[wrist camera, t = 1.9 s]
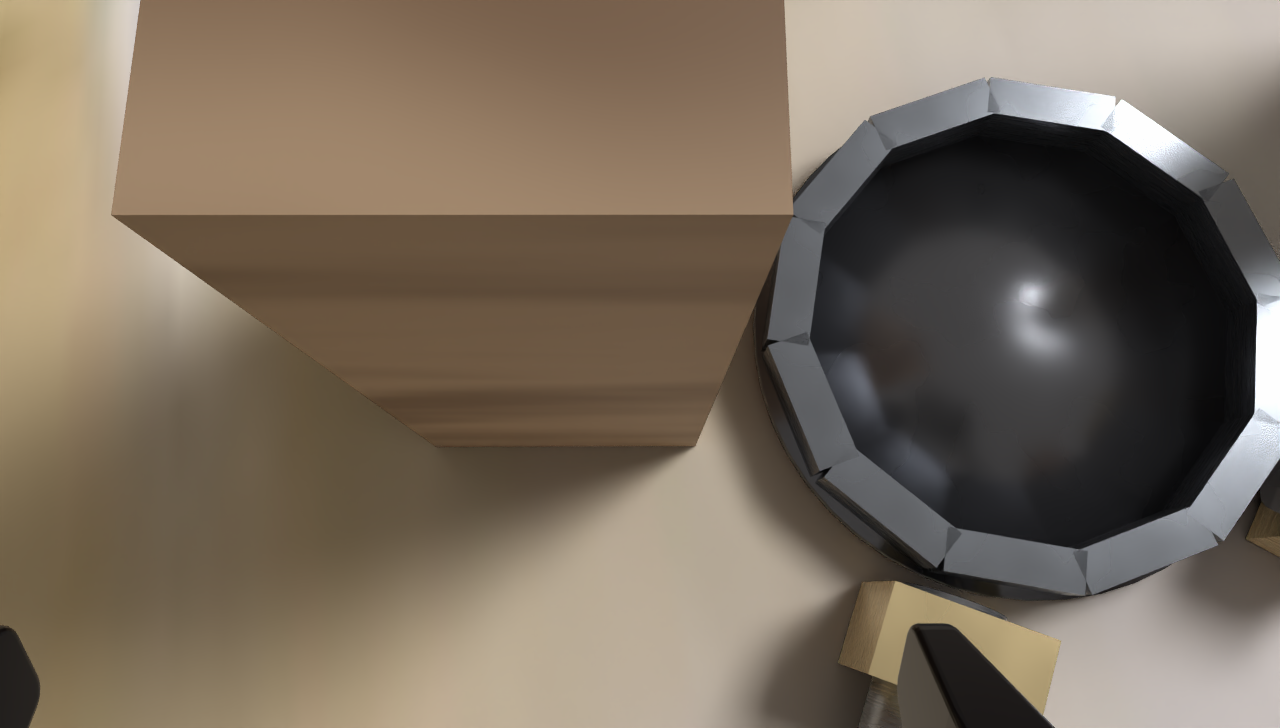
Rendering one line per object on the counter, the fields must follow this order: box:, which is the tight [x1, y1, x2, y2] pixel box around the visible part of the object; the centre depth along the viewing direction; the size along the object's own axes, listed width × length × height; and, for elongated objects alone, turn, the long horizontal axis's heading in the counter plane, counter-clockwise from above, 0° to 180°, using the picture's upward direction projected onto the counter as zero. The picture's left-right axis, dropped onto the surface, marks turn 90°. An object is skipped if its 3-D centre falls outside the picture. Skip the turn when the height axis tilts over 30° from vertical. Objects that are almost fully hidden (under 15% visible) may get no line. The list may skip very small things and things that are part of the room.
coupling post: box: [111, 0, 793, 447], centre depth 17 cm, size 6×6×15 cm
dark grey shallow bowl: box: [753, 77, 1280, 600], centre depth 23 cm, size 13×13×2 cm
